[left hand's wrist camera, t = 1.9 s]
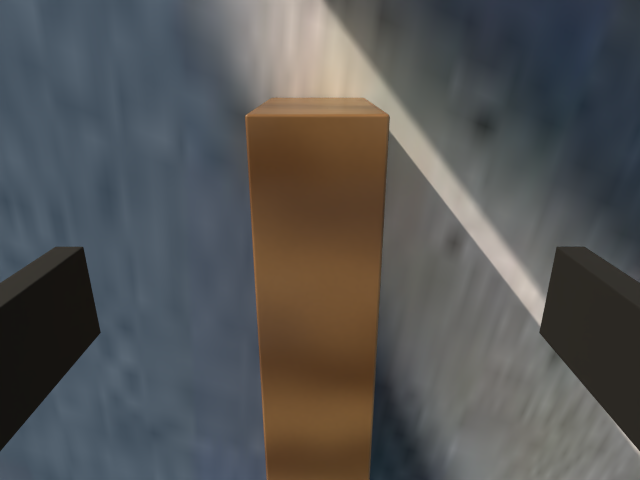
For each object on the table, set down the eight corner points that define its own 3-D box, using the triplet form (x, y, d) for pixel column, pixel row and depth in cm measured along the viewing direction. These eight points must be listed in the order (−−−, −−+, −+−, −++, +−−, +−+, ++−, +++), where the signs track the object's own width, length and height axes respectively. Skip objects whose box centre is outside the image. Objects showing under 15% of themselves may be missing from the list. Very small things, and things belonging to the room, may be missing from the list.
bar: (270, 97, 22) (244, 114, 14) (365, 97, 22) (390, 114, 14) (285, 496, 32) (275, 631, 25) (351, 496, 32) (361, 631, 25)
